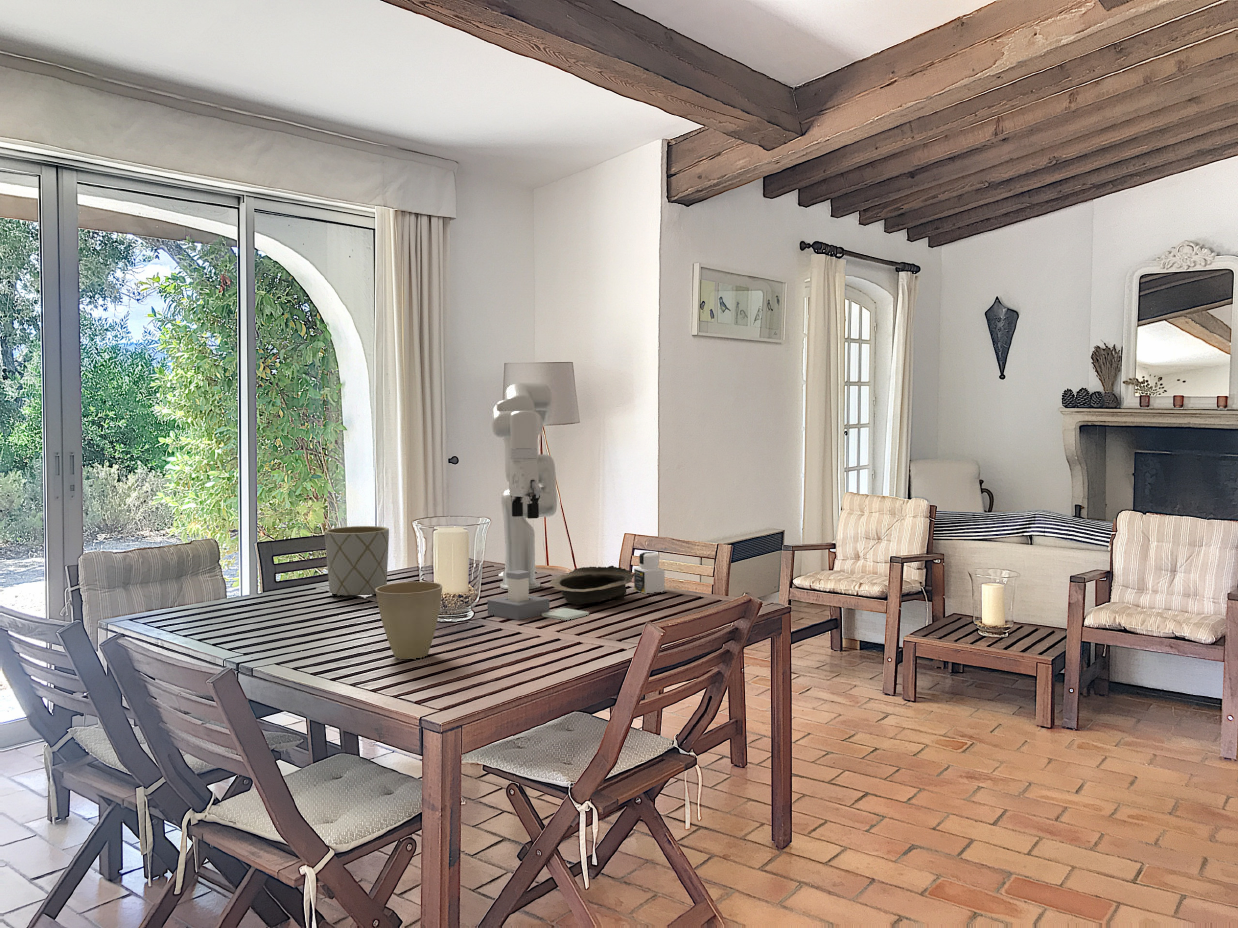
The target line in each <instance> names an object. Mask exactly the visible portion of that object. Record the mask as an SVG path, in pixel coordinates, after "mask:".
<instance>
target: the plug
mask: <svg viewBox="0 0 1238 928" xmlns="http://www.w3.org/2000/svg"><path fill="white" fill-rule="evenodd" d="M506 578H508V589H507V596H508V600H510V601H516V602H520V601H525V600H529V595H530V592H529V591H530V589H529V578H530V572H529V571H522V570H516V571H510V572H506Z"/></svg>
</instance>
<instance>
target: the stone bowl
mask: <svg viewBox="0 0 1238 928" xmlns="http://www.w3.org/2000/svg"><path fill="white" fill-rule="evenodd" d="M634 574H635V573H634V572H632V571H631V570H630V569H629V570H627V569H626V568H622V567H621V566H620V567H617V566H614V565H609V566H589V567H588V566H587V567H585V566H583V567H578V568H574V569H573V570H572V571H569V573H567V574H561V575H559V576H557V577H555V578H553V579H552V580H550V581H549V585H550V586H552V587H553V588H555V589H557V590H560V592H561V595H562V596H563V598H564V600H565V602H566V603H567V604H571V605H575V606H582V605H583V604H584V605H585V604H591V603H597V602H600V601H604V600H605V601H609V600H610V599H611V600H615V601H618V602H620V601H623V600H624V599H625V596H626V594H627V588H626V587H627V586H626V585H627V584H630V583H631V582H632V580H633V579H634Z"/></svg>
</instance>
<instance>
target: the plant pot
mask: <svg viewBox="0 0 1238 928" xmlns="http://www.w3.org/2000/svg"><path fill="white" fill-rule="evenodd" d="M375 590H376V595H375V596H376V600H377V601H376V602H377V606H378V610H379V615H380V619H381V622H382V625H383V629H384V632H385V635H386V640H387V641H388V644H389V646H390V649H391V651H392V655H393V657H396V658H395V659H397V658H400V659H399V660H401V659H414V660H417V659H416V658H420V659H422V657H423V658H426V657H427V656H428V655H429V652H430V650H431V647H432V646H431V645H432V643H433V640H434V636H435V632H436V628H437V625H438V624H437V623H438V620H439V614H440V608H441V602H442V594H443V585H442V584H441V583H439V582H434V581H402V582H401V581H400V582H394V583H387V585H383V586H380V587H378V588H376V589H375ZM425 656H426V657H425Z"/></svg>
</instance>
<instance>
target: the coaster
mask: <svg viewBox="0 0 1238 928" xmlns="http://www.w3.org/2000/svg"><path fill="white" fill-rule="evenodd" d="M586 615H587V616H589V615H590V612H589V611H584V610H580V609H579V610H578V609H573V608H568V607H567V608H566V607H563V608H559V609H555V610H551V611H550V612H545V613H542V615H541V616H542V617H545V618H551V619H555V620H560V619H561V621H566V620H567V621H571V620H575V619H577V618H582V617H585V616H586ZM570 619H571V620H570Z"/></svg>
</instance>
